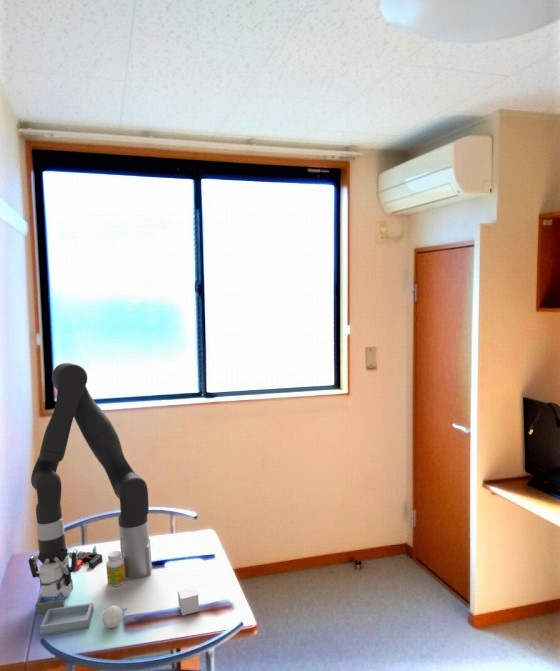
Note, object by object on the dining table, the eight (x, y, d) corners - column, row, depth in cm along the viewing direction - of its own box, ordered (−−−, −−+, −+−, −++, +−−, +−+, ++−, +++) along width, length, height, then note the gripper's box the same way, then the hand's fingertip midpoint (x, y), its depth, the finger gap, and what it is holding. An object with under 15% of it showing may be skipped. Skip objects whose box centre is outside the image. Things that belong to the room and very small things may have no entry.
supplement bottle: (109, 589, 169) (107, 559, 168) (106, 581, 174) (104, 552, 173) (126, 583, 171) (124, 554, 171) (123, 576, 176) (121, 548, 175)
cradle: (73, 588, 171) (72, 579, 170) (64, 610, 158) (63, 600, 158) (47, 591, 169) (46, 582, 169) (36, 614, 157) (35, 604, 157)
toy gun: (81, 555, 194) (80, 542, 193) (106, 560, 189) (105, 547, 188) (60, 568, 185) (59, 554, 184) (86, 574, 180) (85, 560, 179)
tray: (48, 617, 155) (47, 609, 155) (93, 610, 157) (93, 602, 157) (40, 635, 147) (39, 626, 147) (88, 628, 149) (87, 619, 149)
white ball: (124, 629, 147) (122, 610, 147) (102, 634, 146) (100, 614, 145) (123, 614, 155) (122, 595, 154) (103, 618, 153) (101, 599, 153)
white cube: (195, 602, 159) (194, 586, 159) (199, 611, 154) (198, 594, 154) (178, 606, 157) (177, 590, 157) (182, 615, 153) (181, 599, 152)
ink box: (57, 605, 159) (53, 567, 158) (42, 605, 160) (38, 567, 159) (72, 590, 168) (68, 553, 167) (58, 589, 169) (54, 553, 168)
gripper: (78, 525, 167) (83, 576, 169) (29, 531, 165) (34, 583, 166) (73, 535, 160) (78, 589, 161) (22, 542, 157) (27, 597, 159)
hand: (56, 586), depth 164 cm, fingers closed on ink box, 6 cm apart
